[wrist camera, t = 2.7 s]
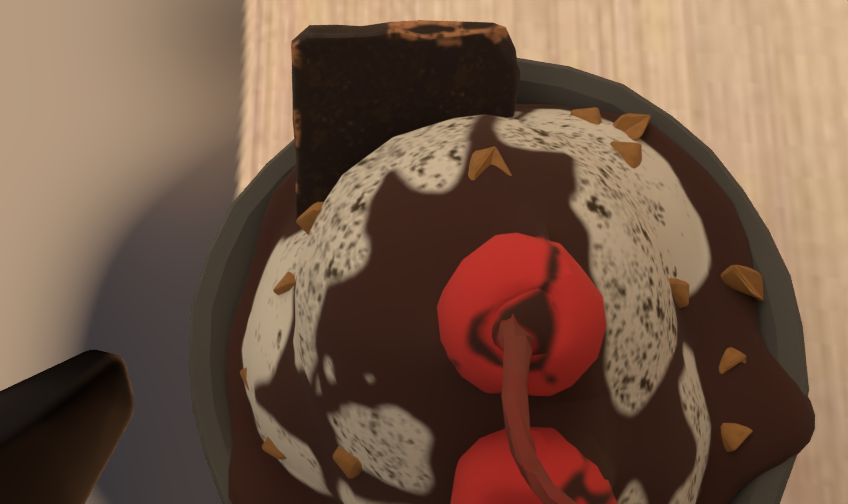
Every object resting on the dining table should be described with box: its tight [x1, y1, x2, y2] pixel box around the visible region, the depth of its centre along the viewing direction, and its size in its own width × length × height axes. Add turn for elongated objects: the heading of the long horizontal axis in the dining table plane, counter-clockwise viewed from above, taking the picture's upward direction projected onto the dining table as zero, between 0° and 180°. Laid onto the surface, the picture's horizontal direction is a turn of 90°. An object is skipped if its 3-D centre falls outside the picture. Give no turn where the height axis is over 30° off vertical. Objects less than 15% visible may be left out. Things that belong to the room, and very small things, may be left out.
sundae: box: [189, 20, 815, 504], centre depth 11 cm, size 7×7×15 cm
